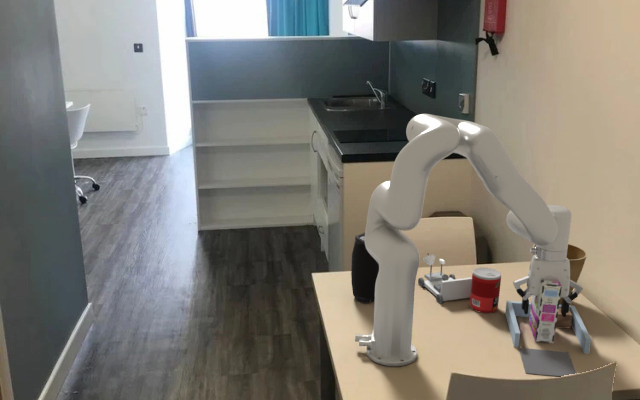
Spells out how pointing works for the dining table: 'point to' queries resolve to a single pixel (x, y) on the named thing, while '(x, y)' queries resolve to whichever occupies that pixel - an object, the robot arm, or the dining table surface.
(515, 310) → the blue u-shaped frame
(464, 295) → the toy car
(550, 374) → the mat
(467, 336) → the dining table surface
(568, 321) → the walnut block
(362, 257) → the portable speaker
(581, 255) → the plant pot
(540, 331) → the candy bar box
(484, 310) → the canned food
